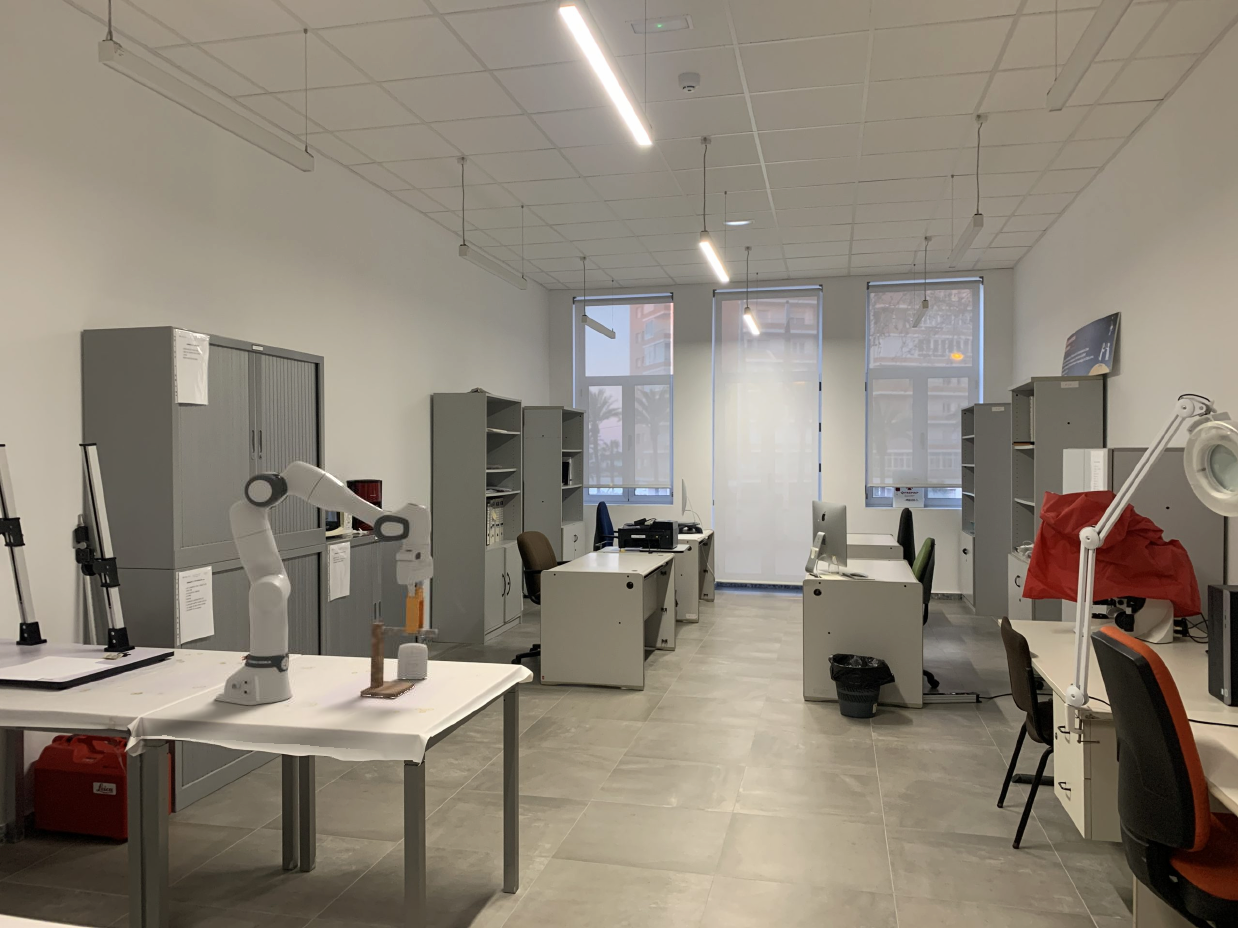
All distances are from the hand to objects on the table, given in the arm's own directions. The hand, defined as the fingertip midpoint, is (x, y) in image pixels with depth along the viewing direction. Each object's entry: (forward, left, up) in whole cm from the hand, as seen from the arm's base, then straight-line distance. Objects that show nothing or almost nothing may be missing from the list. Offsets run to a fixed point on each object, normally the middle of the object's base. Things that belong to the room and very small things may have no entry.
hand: (415, 594), depth 262 cm
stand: (-4, 0, -32) cm, 32 cm away
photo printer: (-9, +18, -32) cm, 38 cm away
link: (0, 0, -12) cm, 12 cm away
